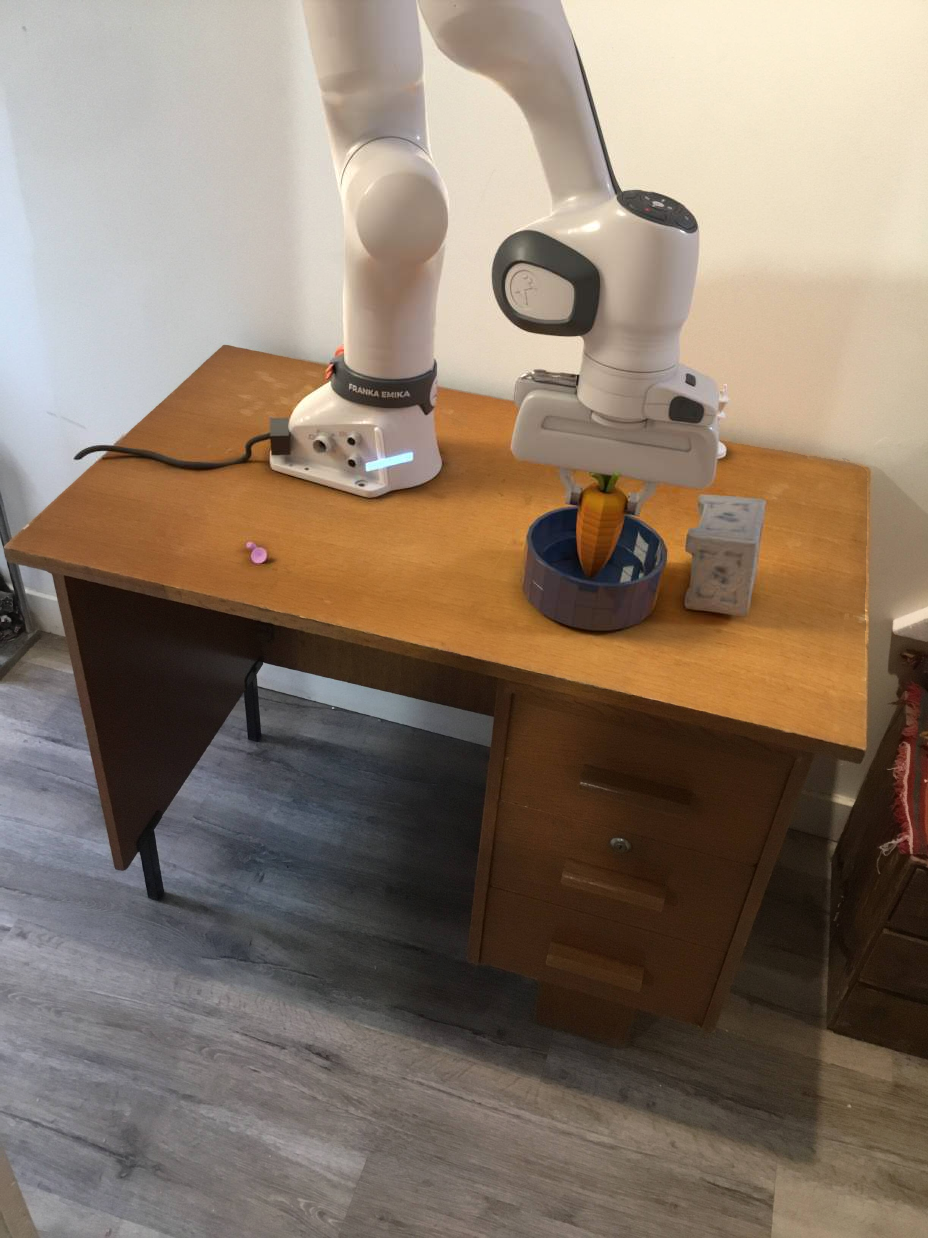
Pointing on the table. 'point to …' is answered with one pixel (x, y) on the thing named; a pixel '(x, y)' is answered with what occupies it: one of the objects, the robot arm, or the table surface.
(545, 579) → the blue pet bowl
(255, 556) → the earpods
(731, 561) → the incense holder
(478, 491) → the table surface
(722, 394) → the chess piece
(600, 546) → the carrot
